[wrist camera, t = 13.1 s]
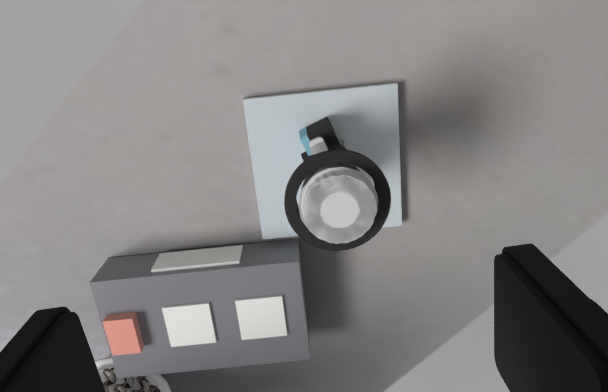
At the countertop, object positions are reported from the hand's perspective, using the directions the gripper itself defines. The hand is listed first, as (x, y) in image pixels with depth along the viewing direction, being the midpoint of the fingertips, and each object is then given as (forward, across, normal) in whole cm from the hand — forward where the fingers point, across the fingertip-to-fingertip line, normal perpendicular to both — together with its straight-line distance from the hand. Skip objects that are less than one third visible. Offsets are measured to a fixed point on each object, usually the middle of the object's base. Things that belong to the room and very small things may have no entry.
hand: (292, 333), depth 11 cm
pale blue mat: (+23, -2, +3) cm, 23 cm away
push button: (+23, -2, +3) cm, 23 cm away
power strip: (+23, +8, +12) cm, 27 cm away
